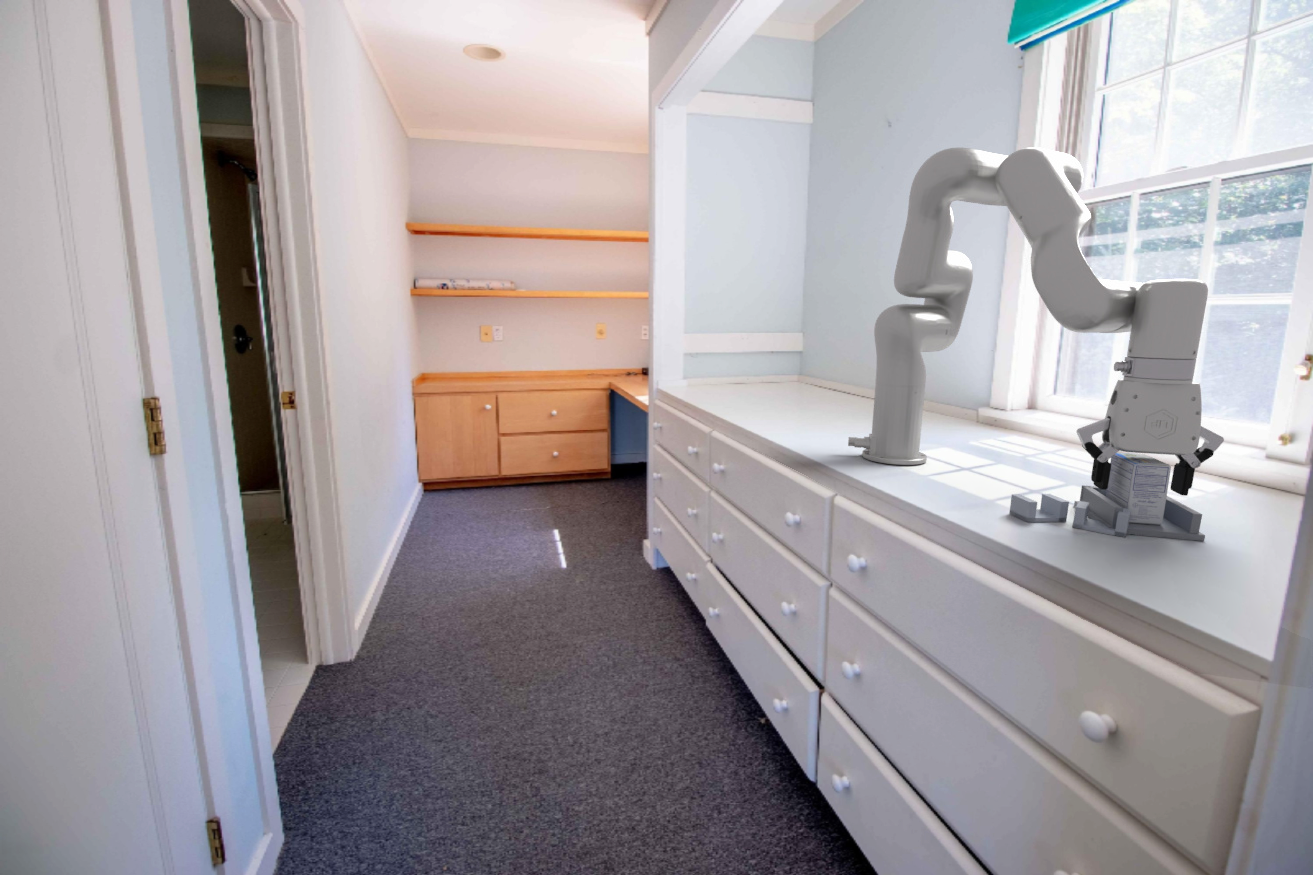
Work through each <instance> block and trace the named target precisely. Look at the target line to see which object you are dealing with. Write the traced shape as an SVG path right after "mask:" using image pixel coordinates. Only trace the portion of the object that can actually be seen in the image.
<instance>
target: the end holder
mask: <svg viewBox="0 0 1313 875" xmlns="http://www.w3.org/2000/svg"><path fill="white" fill-rule="evenodd" d="M1079 501H1083V502H1089V509H1088V516H1087V518H1088V519H1093V520H1098V521H1100V522H1101V523H1103V524H1104V525H1105V526H1107V527H1108V528H1110V529H1116V522H1117V516H1118V513H1119V511H1121V512H1123V509H1124V508H1123V507H1121V506H1119V505H1118V504H1116V503H1115V502H1113V501H1112V500H1110V499H1109V498H1107V497H1106V490H1102V489H1100V488H1098V487H1097V486H1095V485H1084V484H1083V485H1081V491H1080V496H1079V500H1074V503H1073V507H1076V505H1077V504H1078V502H1079ZM1202 517H1203V514H1202V513H1201V512H1198V511H1197V510H1195V509H1192V508H1191V507H1189V506H1188V505H1185V504H1183V503H1182V502H1179V501H1177V500H1176V499H1174V498H1172V497H1170V496H1169V495H1167V497H1166V503H1165V510H1164V517H1163V523H1162V524H1161V525H1150V524H1138V523H1129V525H1128V528H1127V534H1126V535H1130V534H1135V535H1134V536H1142V535H1143V536H1144V537H1155V538H1156V537H1157V538H1167V539H1176V540H1177V539H1178V540H1187V541H1189V540H1190V541H1200V542H1205V539H1206V535H1205V534H1203V533H1202V532H1200V528H1201V523H1202ZM1143 536H1142V537H1143Z"/></svg>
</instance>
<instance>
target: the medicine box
mask: <svg viewBox="0 0 1313 875" xmlns="http://www.w3.org/2000/svg"><path fill="white" fill-rule="evenodd" d="M1109 463H1110V464H1111V470H1110V477H1109V483H1108V489H1106V497H1107V498H1109V499H1110V500H1112V501H1113V502H1115V503H1116V504H1118V505H1119V506H1121V507H1123V508H1125V509H1131V514H1130V520H1129V523H1138V524H1150V525H1161V524H1162V523H1163V517H1164V510H1165V503H1166V497H1167V496H1168V489H1169V483H1170V477H1171V476H1170V475H1171V470H1172V469H1171V468H1172V466H1171V465H1170V464H1167V463H1166V462H1163V461H1161V460H1159V459H1157V458H1155V457H1152V456H1149V455H1147V454H1146V453H1135V452H1117V453H1116V454H1115V455H1113V456H1112V457H1111V458H1110V461H1109Z"/></svg>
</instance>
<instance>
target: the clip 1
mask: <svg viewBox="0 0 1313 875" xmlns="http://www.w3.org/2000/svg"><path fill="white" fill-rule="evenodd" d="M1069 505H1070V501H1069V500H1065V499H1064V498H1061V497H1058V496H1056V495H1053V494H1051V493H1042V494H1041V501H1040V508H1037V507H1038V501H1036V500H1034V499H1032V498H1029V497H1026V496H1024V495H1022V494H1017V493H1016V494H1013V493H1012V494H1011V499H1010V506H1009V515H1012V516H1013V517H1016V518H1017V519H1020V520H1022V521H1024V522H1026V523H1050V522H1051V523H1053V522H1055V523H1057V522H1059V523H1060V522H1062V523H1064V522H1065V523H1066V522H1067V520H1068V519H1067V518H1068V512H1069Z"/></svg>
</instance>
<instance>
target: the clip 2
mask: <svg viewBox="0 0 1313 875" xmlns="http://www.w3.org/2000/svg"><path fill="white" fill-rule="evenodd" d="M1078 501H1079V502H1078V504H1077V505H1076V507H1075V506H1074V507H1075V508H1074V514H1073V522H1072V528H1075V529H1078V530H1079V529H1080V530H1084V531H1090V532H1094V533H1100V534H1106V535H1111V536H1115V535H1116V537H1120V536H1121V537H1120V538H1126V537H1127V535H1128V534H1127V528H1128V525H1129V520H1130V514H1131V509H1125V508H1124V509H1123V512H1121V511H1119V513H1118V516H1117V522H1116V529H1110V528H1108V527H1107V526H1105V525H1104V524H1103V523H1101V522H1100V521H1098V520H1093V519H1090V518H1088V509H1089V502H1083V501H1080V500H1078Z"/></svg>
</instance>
